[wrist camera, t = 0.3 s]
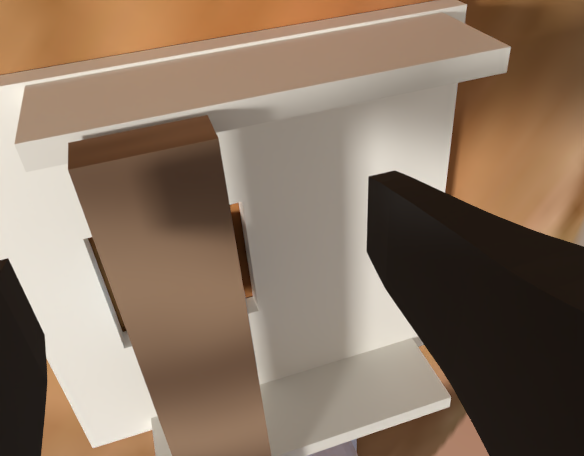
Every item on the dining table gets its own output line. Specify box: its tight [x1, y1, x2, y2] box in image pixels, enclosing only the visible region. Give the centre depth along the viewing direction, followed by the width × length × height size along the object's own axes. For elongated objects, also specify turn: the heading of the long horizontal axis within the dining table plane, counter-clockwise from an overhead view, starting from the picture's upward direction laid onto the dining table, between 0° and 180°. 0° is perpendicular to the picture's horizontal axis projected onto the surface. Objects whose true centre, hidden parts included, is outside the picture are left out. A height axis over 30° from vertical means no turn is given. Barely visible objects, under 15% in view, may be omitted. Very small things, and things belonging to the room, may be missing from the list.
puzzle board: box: [0, 0, 511, 456], centre depth 22 cm, size 18×18×5 cm
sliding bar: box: [68, 115, 271, 456], centre depth 19 cm, size 18×4×1 cm, turn 4°
